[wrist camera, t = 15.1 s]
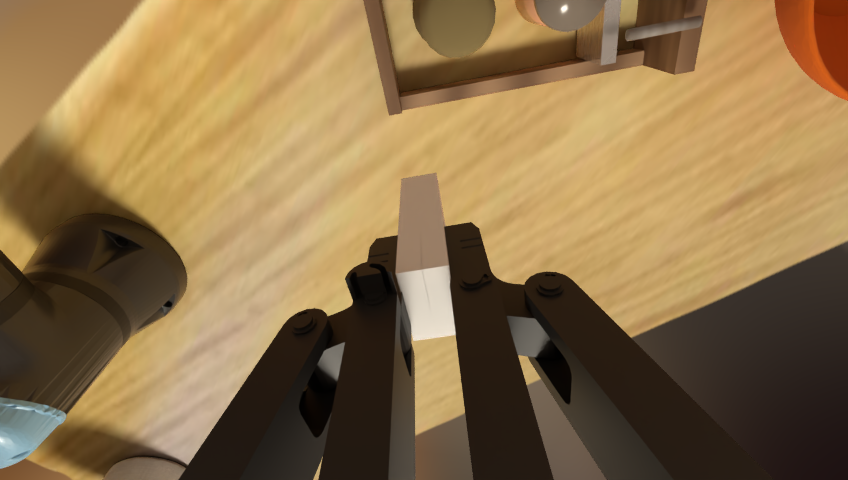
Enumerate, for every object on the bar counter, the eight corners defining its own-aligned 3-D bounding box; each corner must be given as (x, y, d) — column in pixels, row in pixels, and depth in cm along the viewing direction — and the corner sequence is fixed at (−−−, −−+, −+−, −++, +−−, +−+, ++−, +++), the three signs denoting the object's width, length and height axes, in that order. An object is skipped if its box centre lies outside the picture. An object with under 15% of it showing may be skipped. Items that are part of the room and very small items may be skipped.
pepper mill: (432, -47, 32) (440, -64, 22) (494, -7, 33) (525, -8, 24) (401, 28, 34) (396, 40, 25) (459, 61, 36) (475, 84, 27)
